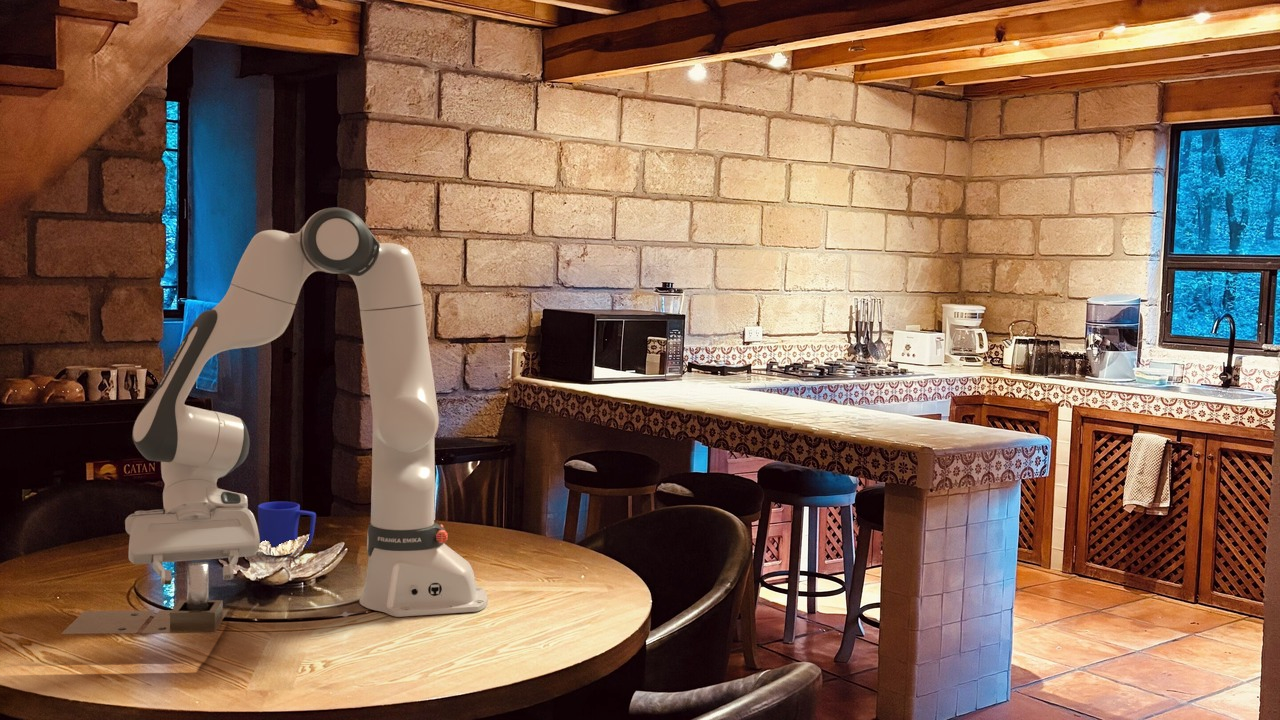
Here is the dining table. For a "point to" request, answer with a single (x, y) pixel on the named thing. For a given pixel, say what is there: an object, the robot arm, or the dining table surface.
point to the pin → (197, 586)
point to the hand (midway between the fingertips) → (197, 580)
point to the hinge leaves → (161, 623)
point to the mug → (282, 522)
